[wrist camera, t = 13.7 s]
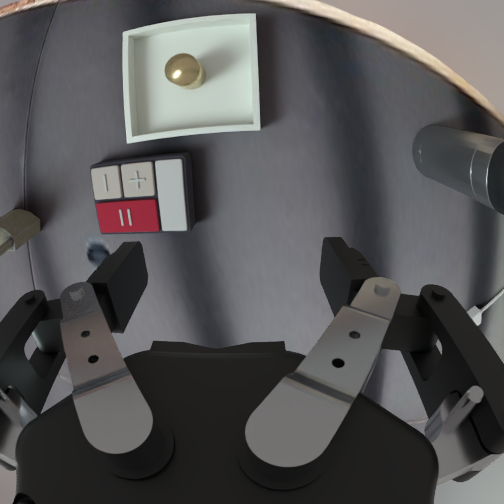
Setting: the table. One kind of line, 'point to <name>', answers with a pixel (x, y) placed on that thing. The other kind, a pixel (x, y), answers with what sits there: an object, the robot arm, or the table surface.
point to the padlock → (17, 229)
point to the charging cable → (481, 310)
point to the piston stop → (185, 71)
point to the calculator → (145, 194)
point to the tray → (202, 98)
